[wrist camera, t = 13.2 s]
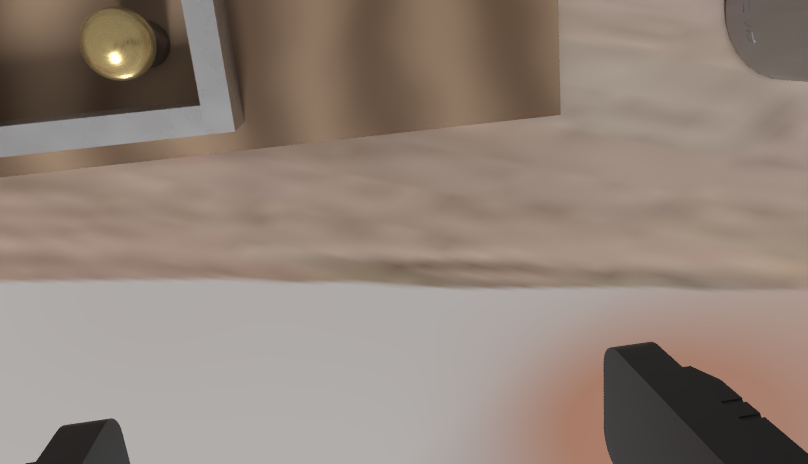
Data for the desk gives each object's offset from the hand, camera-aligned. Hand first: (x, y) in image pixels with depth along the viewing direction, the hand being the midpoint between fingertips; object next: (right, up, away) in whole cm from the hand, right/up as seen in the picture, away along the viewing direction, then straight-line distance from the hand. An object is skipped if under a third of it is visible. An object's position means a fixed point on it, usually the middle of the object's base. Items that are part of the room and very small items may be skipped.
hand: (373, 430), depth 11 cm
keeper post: (-13, +13, +23) cm, 29 cm away
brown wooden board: (-7, +14, +24) cm, 29 cm away
